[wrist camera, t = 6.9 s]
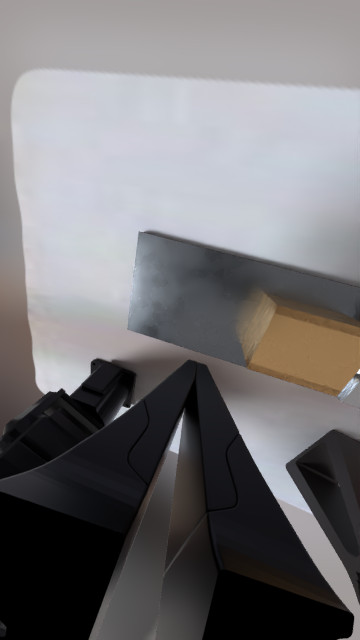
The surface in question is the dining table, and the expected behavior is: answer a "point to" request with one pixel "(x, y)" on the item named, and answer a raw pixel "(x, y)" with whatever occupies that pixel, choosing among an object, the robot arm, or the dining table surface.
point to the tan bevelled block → (303, 344)
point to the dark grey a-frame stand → (333, 494)
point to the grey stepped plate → (220, 298)
